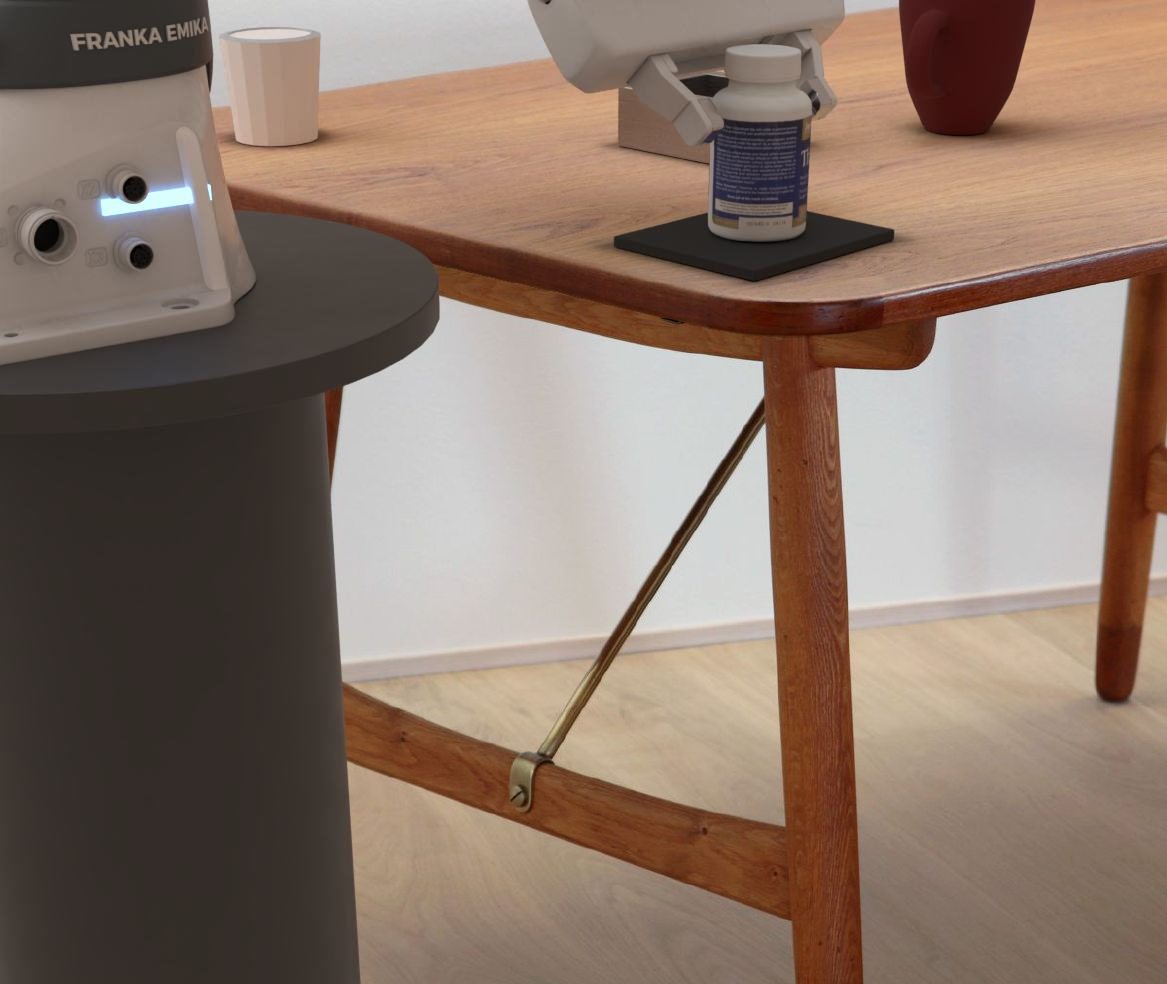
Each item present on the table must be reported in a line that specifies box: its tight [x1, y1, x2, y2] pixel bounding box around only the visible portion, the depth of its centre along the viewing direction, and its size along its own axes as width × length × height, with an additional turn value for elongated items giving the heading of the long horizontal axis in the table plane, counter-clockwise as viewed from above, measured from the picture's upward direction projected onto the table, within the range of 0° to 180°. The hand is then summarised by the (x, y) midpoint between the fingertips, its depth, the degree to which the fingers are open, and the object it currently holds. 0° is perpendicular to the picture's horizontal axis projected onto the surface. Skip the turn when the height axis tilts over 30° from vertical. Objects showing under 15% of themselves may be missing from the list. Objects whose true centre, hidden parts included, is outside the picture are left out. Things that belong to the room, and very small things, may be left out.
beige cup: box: [218, 26, 322, 147], centre depth 128 cm, size 7×7×7 cm
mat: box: [613, 210, 896, 282], centre depth 103 cm, size 12×10×1 cm
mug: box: [898, 0, 1036, 136], centre depth 128 cm, size 12×9×11 cm
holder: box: [617, 71, 729, 165], centre depth 126 cm, size 9×9×4 cm
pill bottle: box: [707, 44, 813, 242], centre depth 100 cm, size 5×5×10 cm
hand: (767, 125), depth 100 cm, fingers open, 8 cm apart
